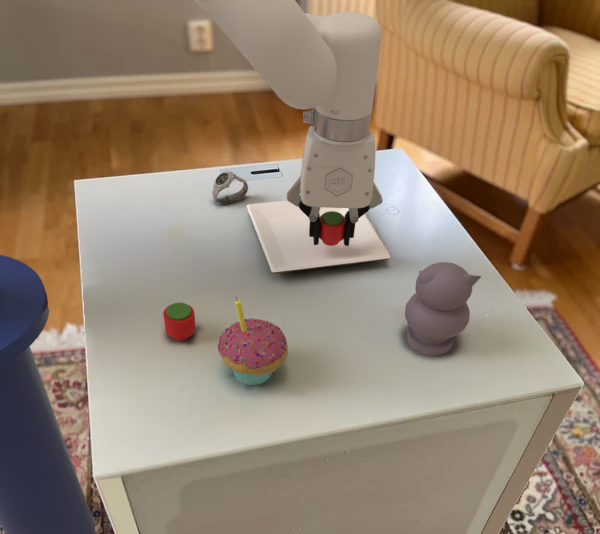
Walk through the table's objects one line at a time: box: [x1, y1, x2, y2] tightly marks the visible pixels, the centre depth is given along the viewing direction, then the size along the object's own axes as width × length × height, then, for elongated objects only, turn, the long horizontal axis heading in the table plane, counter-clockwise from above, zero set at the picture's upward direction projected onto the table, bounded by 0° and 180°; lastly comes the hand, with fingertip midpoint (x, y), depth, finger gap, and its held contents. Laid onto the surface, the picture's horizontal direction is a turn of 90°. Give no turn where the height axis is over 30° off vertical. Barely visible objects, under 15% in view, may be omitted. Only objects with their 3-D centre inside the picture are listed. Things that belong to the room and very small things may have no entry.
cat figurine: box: [404, 261, 482, 357], centre depth 83 cm, size 8×8×12 cm
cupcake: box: [217, 295, 289, 386], centre depth 77 cm, size 9×8×12 cm
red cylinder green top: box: [319, 211, 346, 246], centre depth 96 cm, size 4×4×4 cm
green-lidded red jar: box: [162, 302, 197, 341], centre depth 84 cm, size 4×4×4 cm
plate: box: [246, 200, 391, 274], centre depth 101 cm, size 19×19×2 cm
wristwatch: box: [211, 171, 249, 206], centre depth 107 cm, size 4×6×5 cm, turn 118°
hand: (330, 239), depth 97 cm, fingers closed on red cylinder green top, 4 cm apart
